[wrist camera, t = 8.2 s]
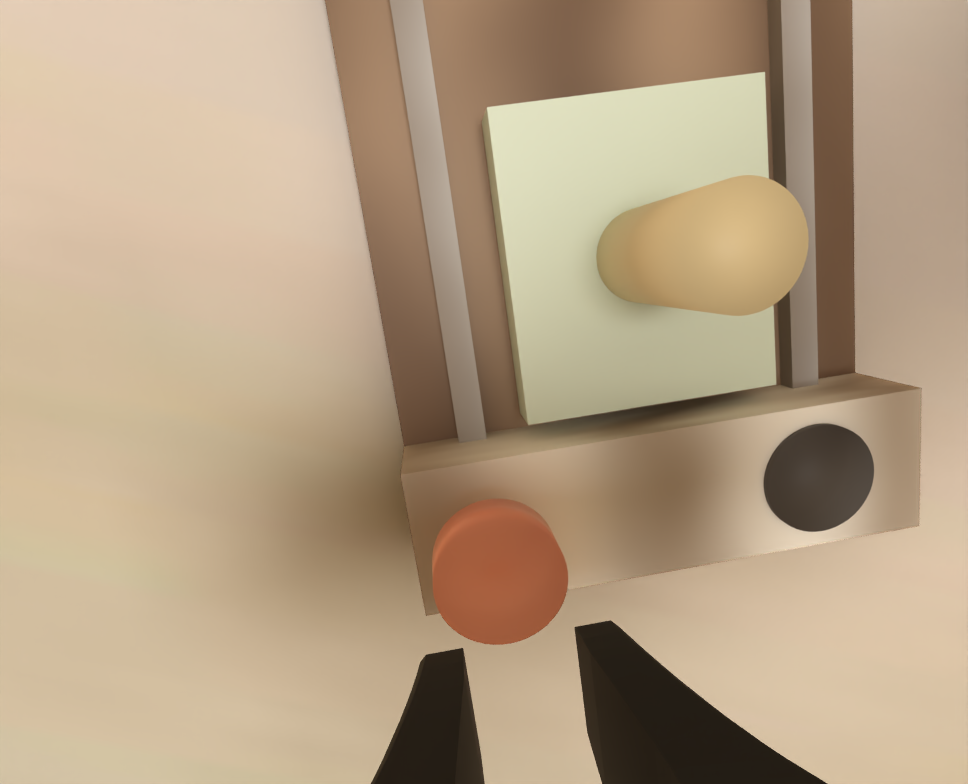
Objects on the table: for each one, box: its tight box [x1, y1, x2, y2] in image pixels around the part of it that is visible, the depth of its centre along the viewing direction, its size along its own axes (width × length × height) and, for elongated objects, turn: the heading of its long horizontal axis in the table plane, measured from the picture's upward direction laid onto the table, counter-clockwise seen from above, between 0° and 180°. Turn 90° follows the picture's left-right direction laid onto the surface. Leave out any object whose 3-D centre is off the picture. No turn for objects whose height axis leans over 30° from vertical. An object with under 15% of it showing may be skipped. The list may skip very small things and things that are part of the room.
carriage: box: [482, 72, 809, 425], centre depth 13 cm, size 7×8×6 cm
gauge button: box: [432, 499, 568, 645], centre depth 13 cm, size 3×3×1 cm
